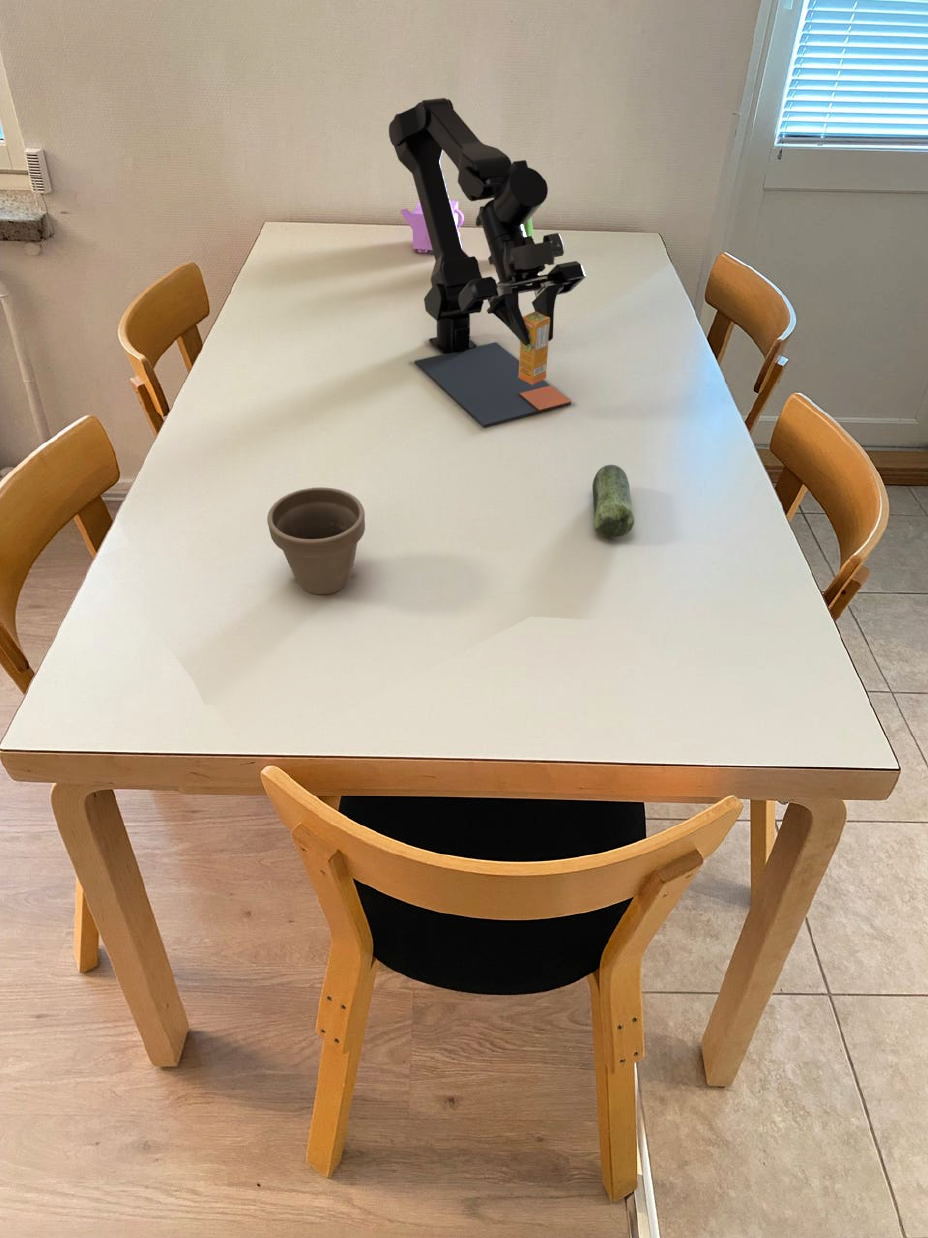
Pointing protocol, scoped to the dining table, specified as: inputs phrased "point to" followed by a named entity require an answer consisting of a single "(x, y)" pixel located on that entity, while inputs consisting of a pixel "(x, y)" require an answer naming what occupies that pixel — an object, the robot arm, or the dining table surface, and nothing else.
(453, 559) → the dining table surface
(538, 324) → the supplement box
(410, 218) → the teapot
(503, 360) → the mat
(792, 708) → the dining table surface
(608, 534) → the vegetable
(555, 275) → the robot arm
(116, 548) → the dining table surface
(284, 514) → the flower pot
